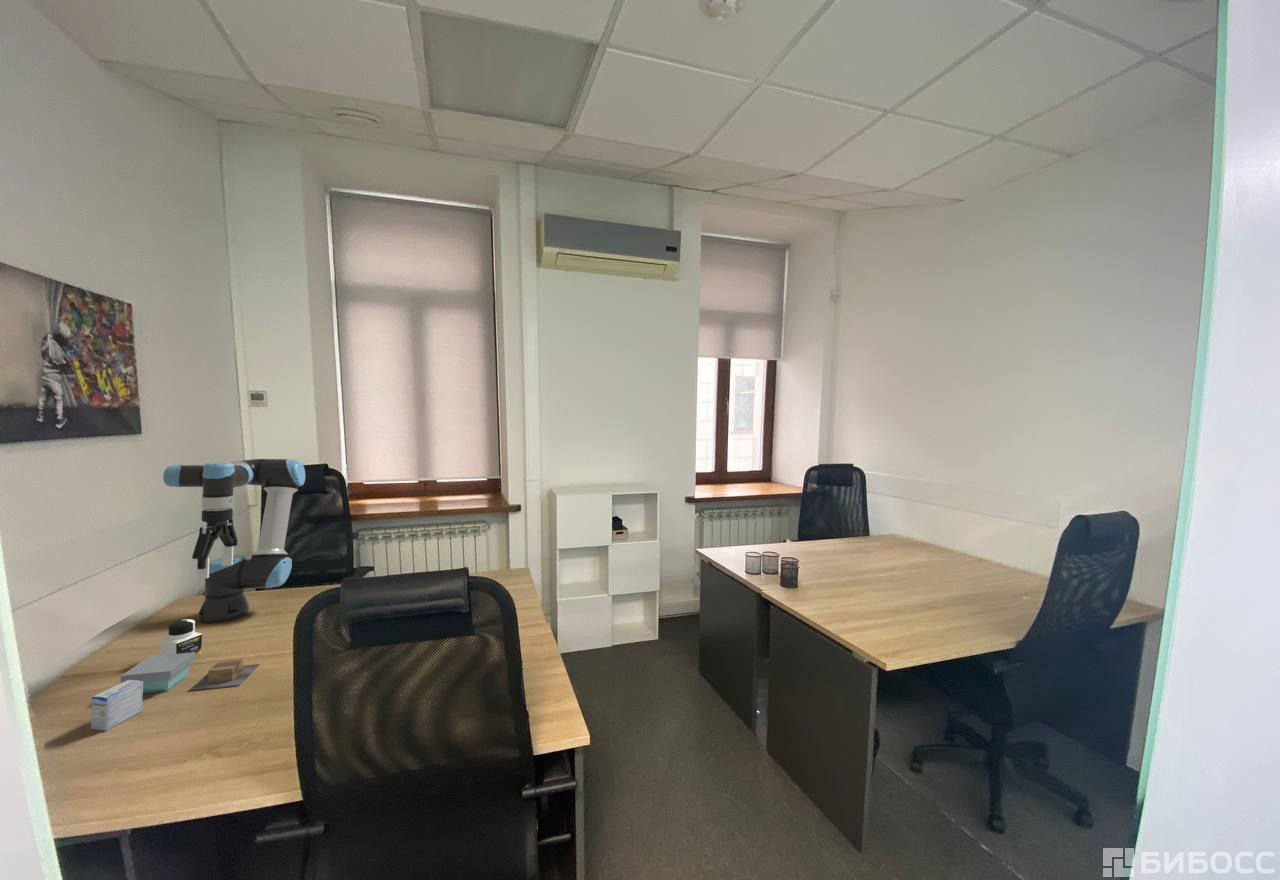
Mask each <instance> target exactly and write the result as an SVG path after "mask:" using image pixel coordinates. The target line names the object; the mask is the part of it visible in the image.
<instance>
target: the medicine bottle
mask: <svg viewBox="0 0 1280 880" xmlns="http://www.w3.org/2000/svg"><path fill="white" fill-rule="evenodd" d="M195 625H196V621H195V620H194V619H189V618H188V619H180V620H177V621H174V622H172V623H171V624H169V625H168V636H166V637H164V638H161V640H160V646H159V647H160V648H159V649H160V651H159V653H160V654H159V655H169V654H181V653H192V652H195V657H196V656H199V655H201V654H202V645H203V633H201V632H197V631H196V626H195Z"/></svg>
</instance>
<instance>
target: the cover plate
mask: <svg viewBox="0 0 1280 880" xmlns="http://www.w3.org/2000/svg"><path fill="white" fill-rule="evenodd" d="M194 661H196V656H195V652H192V653H181V654H169V655H160V654H159V655H150V656H148V657H146V658H145V659H144V660H142V661H141V662H139V663H137V664H136V665H135V666H133V667H132V668H130V669H128V671H126V672H124V673H122V674H121V675H120V683H123V682H125V681H127V680H136V681H143V682H146V681H156V680H166V679H171V678H172V677H174V676H175V675H176V674H178V673H179V672H180V671H181V670H183V669H184V668H185V667H186V666H188V665H189V666H190V664H192V663H193V662H194Z"/></svg>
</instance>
